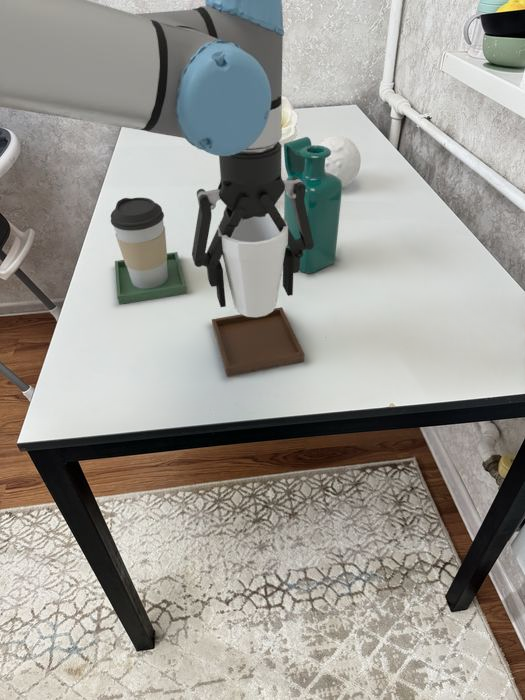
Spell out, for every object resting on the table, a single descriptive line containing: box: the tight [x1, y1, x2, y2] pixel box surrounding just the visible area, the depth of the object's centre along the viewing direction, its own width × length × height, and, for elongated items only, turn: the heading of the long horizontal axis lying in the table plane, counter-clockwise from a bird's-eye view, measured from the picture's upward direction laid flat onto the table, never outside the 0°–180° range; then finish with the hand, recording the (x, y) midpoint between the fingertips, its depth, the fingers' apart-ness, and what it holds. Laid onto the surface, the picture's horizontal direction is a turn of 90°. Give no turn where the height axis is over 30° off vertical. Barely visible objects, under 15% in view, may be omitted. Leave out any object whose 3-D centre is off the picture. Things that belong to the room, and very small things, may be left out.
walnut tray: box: [211, 307, 305, 377], centre depth 79 cm, size 12×12×2 cm
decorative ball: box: [317, 135, 362, 189], centre depth 118 cm, size 12×12×12 cm
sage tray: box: [114, 251, 188, 305], centre depth 93 cm, size 12×12×2 cm
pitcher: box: [283, 136, 343, 274], centre depth 90 cm, size 10×8×22 cm
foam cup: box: [217, 214, 288, 317], centre depth 70 cm, size 10×9×13 cm
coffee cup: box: [110, 197, 168, 289], centre depth 88 cm, size 9×9×15 cm
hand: (255, 295), depth 73 cm, fingers closed on foam cup, 9 cm apart
